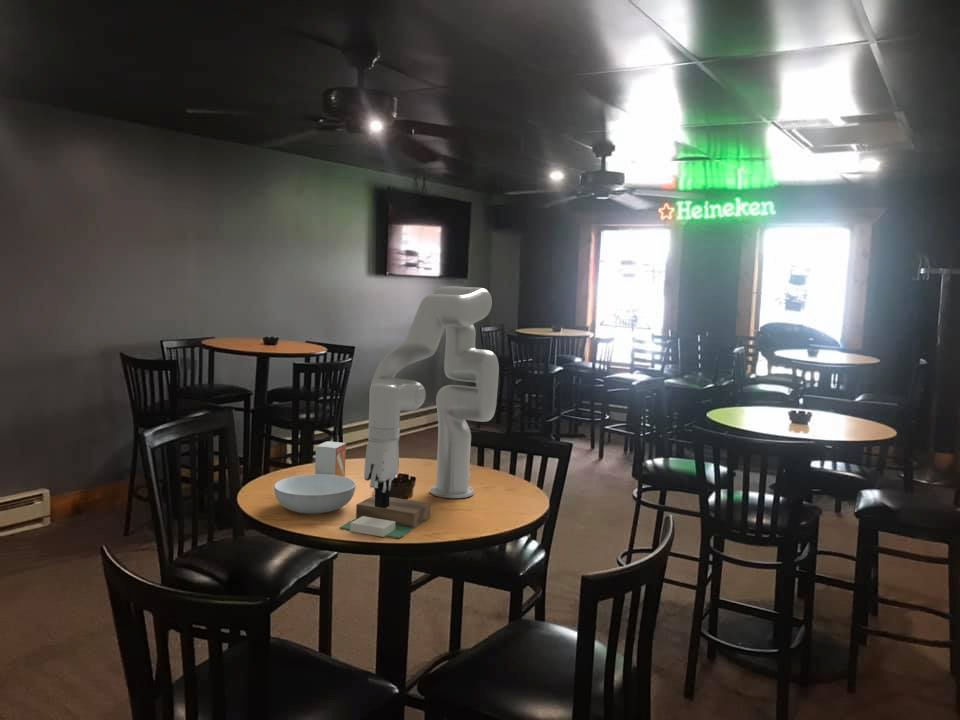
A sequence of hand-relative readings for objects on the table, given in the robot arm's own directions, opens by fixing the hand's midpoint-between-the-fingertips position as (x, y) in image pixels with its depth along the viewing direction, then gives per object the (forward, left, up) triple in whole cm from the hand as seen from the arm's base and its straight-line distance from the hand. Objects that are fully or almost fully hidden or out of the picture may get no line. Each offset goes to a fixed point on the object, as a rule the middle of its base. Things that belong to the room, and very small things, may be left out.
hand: (381, 506), depth 183 cm
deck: (-7, 0, -5) cm, 8 cm away
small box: (-24, -29, -5) cm, 38 cm away
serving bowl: (-5, -22, -5) cm, 23 cm away
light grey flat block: (+5, 0, -3) cm, 5 cm away
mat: (+2, 0, -5) cm, 6 cm away
